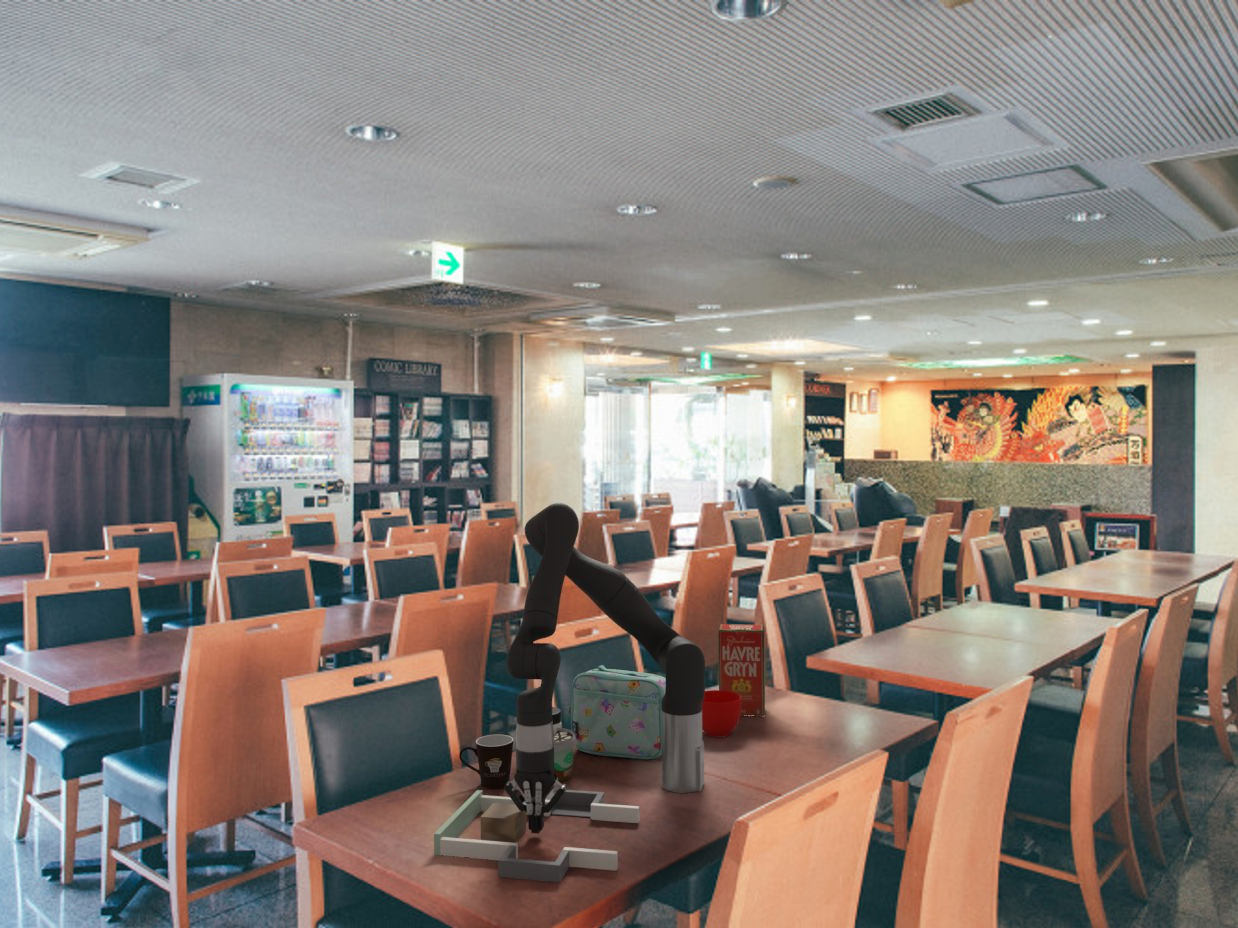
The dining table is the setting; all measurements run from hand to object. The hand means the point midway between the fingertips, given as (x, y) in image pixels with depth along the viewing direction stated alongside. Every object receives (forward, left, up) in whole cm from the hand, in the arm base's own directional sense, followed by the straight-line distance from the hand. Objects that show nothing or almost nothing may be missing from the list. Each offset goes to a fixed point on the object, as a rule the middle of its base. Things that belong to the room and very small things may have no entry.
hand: (536, 831), depth 176 cm
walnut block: (+7, +1, -1) cm, 7 cm away
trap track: (-1, 0, -1) cm, 1 cm away
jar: (+11, -44, -1) cm, 45 cm away
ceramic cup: (-27, -72, -1) cm, 77 cm away
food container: (+3, -32, -1) cm, 32 cm away
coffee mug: (+19, -26, -1) cm, 32 cm away
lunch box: (-6, -52, -1) cm, 52 cm away
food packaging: (-34, -93, -1) cm, 99 cm away
